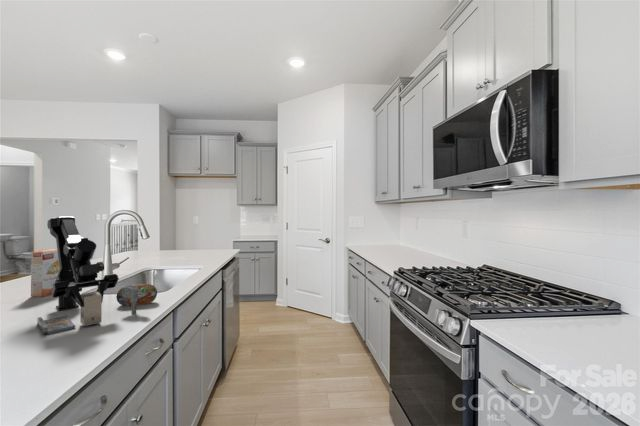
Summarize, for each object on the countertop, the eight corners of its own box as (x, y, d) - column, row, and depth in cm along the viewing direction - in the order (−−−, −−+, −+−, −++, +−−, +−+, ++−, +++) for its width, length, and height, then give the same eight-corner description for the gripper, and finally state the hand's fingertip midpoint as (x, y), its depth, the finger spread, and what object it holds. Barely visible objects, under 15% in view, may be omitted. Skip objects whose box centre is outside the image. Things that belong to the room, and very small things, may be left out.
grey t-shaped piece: (142, 314, 119) (142, 289, 119) (119, 312, 121) (119, 287, 121) (147, 312, 122) (147, 287, 122) (125, 310, 124) (125, 285, 124)
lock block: (80, 322, 109) (80, 294, 108) (97, 318, 112) (97, 291, 112) (84, 326, 105) (84, 297, 105) (101, 322, 109) (101, 294, 109)
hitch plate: (37, 324, 108) (37, 317, 108) (66, 318, 114) (66, 312, 114) (43, 335, 99) (43, 328, 99) (75, 328, 105) (75, 321, 105)
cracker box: (43, 297, 141) (42, 251, 141) (30, 297, 141) (29, 251, 141) (68, 289, 155) (68, 248, 155) (56, 289, 155) (56, 247, 155)
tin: (116, 307, 128) (116, 287, 128) (118, 304, 131) (118, 285, 131) (156, 303, 134) (156, 284, 134) (157, 301, 137) (157, 282, 137)
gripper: (53, 258, 103) (62, 297, 97) (116, 252, 118) (128, 286, 111) (48, 278, 108) (56, 316, 102) (109, 270, 123) (119, 303, 116)
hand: (92, 304), depth 108 cm, fingers closed on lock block, 5 cm apart
